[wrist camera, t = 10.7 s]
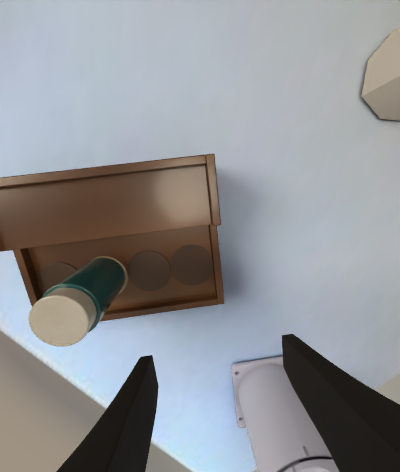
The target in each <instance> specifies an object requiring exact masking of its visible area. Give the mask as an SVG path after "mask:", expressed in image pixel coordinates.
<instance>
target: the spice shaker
mask: <svg viewBox="0 0 400 472" xmlns="http://www.w3.org/2000/svg"><path fill="white" fill-rule="evenodd" d="M125 281H126V276H125V272H124V269H123V268H122V266H121V265H120V264H119V263H118V262H116V261H115V260H113V259H110V258H106V257H99V258H95V259H93V260H91V261H90V262H88V263H87V264H85V265H84V266H82V267H81V268H79V269H78V270H76V271H75V272H73V273H72V274H70V275H69V276H68V277H66V278H65V279H63V280H62V281H60V282H59V283H57V284H56V285H54V286H53V287H51V288H50V289H48V290H47V291H46V292H45V293H44V295H43V296H42V298H41V299H40V300H38V301H37V302H36V303H35V304H34V305H33V307H32V309H31V311H30V314H29V324H30V327H31V329H32V331H33V333H34V334H35V335H36V336H37V337H38V338H39V339H40V340H42V341H43V342H45V343H47V344H50V345H54V346H69V345H73V344H75V343H77V342H79V341H80V340H81V339H83V338H84V337H85V335H86V334H87V333H88V332H90V331H91V330H93V329H94V328H95V327H96V325H97V324H98V323H99V321H100V320H101V318H102V317H103V315H104V314H105V312H106V311H107V310H108V308H109V307H110V305H111V304H112V302H113V301H114V300H115V298H116V297H117V295H118V294H119V292H120V291H121V290H122V288H123V287H124V284H125Z"/></svg>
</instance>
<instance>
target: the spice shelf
mask: <svg viewBox="0 0 400 472" xmlns="http://www.w3.org/2000/svg"><path fill="white" fill-rule="evenodd" d="M218 225H221V219H220V209H219V198H218V188H217V177H216V167H215V156H214V154H207V155H198V156H189V157H180V158H171V159H162V160H153V161H144V162H135V163H127V164H118V165H109V166H100V167H91V168H82V169H73V170H64V171H55V172H46V173H38V174H29V175H20V176H11V177H2V178H0V252H1V251H9V250H13V252H14V255H15V258H16V261H17V264H18V267H19V269H20V272H21V275H22V278H23V281H24V284H25V287H26V290H27V293H28V296H29V299H30V302H31V305H32V307H33V305H34V304H35V303H36V302H37V301H38V300H40V299H41V298H42V296H43V295H44V293H45V292H46V291H47V290H48V289H50V288H51V287H53V286H54V285H56V284H57V283H59V282H60V281H62V280H63V279H65V278H66V277H68V276H69V275H70V274H72V273H73V272H75V271H76V270H78V269H79V268H81V267H82V266H84V265H85V264H87V263H88V262H90V261H91V260H93V259H95V258H99V257H106V258H110V259H113V260H115V261H116V262H118V263H119V264H120V265H121V266H122V268H123V269H124V272H125V276H126V281H125V284H124V287H123V288H122V290H121V291H120V292H119V294H118V295H117V297H116V298H115V300H114V301H113V302H112V304H111V305H110V307H109V308H108V310H107V311H106V312H105V314H104V315H103V317H102V318H101V320H100V321H106V320H113V319H120V318H127V317H134V316H141V315H148V314H155V313H162V312H169V311H176V310H183V309H190V308H197V307H204V306H211V305H218V304H224V294H223V284H222V274H221V264H220V254H219V244H218V234H217V226H218Z"/></svg>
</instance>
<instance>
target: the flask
mask: <svg viewBox="0 0 400 472" xmlns="http://www.w3.org/2000/svg"><path fill="white" fill-rule="evenodd" d="M362 98H363V99H364V100H365V101H366V102H367V104H368V105H369V106H370V107H371V108H372V109H373V111H374V112H375V113H376V114H377V115H378V117H379V118H380V119H389V120H400V28H399V29H397V30H394V31H392V32H391V34H390V35H389V36H388V37H387V38H386V40H385V41H384V42H383V43H382V44H381V46H380V47H379V48H378V49H377V50H376V51H375V53H374V54H373V55H372V56H371V57H370V59H369V60H368V64H367V70H366V75H365V80H364V86H363V91H362Z"/></svg>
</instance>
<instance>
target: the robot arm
mask: <svg viewBox="0 0 400 472" xmlns="http://www.w3.org/2000/svg"><path fill="white" fill-rule="evenodd" d="M282 349H283V356H281V357H274V358H268V359H261V360H255V361H249V362H242V363H236V364H233V365H232V377H233V387H234V397H235V407H236V417H237V425H238V427H239V428H245V427H246V428H247V432H248V436H249V440H250V444H251V448H252V452H253V456H254V460H255V463H256V467H257V471H258V472H400V405H399V404H397V403H396V402H394V401H392V400H390V399H388V398H386V397H385V396H383V395H381V394H379V393H378V392H376V391H375V390H373V389H371V388H369V387H368V386H366V385H365V384H363V383H361V382H360V381H358V380H357V379H355V378H353V377H352V376H350V375H349V374H347V373H346V372H344V371H343V370H341V369H340V368H338V367H337V366H336V365H334V364H333V363H331V362H330V361H328V360H327V359H326V358H324V357H323V356H322V355H320V354H319V353H318V352H316V351H315V350H313V349H312V348H311V347H310V346H308V345H307V344H306V343H304V342H303V341H302V340H300V339H299V338H298V337H296V336H295V335H294V334H289V335H282ZM236 371H237V372H236ZM157 396H158V382H157V377H156V372H155V367H154V362H153V357H152V355H150V356H144V357H140V359H139V360H138V362H137V363H136V365H135V367H134V368H133V370H132V372H131V373H130V375H129V377H128V378H127V380H126V381H125V383H124V384H123V386H122V387H121V389H120V390H119V392H118V394H117V395H116V397H115V398H114V400H113V401H112V402H111V404H110V405H109V407H108V408H107V409H106V411H105V412H104V414H103V415H102V417H101V418H100V419H99V421H98V422H97V423H96V425H95V426H94V428H92V430H91V431H90V432H89V434H88V435H87V436H86V437H85V439H84V440H83V441H82V442H81V444H80V445H79V446H78V447H77V448H76V450H75V451H74V452H73V453H72V454H71V455H70V457H69V458H68V459H67V460H66V461H65V462H64V464H63V465H62V466H61V467H60V468H59V469H58V471H57V472H145V469H146V464H147V459H148V453H149V447H150V442H151V437H152V431H153V426H154V420H155V414H156V408H157Z"/></svg>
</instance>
